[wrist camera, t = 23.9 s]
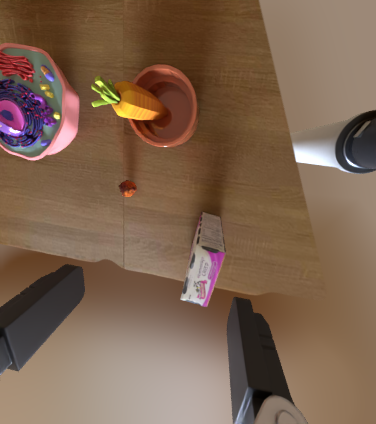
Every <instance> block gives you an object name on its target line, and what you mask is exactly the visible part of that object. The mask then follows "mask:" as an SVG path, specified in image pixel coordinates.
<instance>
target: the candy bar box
mask: <svg viewBox="0 0 376 424" xmlns="http://www.w3.org/2000/svg"><path fill="white" fill-rule="evenodd" d="M225 255H226V251H225V245H224V237H223V231H222V223H221V217H219V216H215V215H211V214H208V213H204V212H201V216H200V219H199V222H198V226H197V229H196V233H195V237H194V240H193V244H192V248H191V252H190V257H189V262H188V267H187V272H186V276H185V282H184V286H183V291H182V295H181V300H184V301H188V302H192V303H195V304H199V305H200V306H205V307H207V306H208V303H209V300H210V297H211V294H212V291H213V288H214V285H215V283H216V280H217V277H218V274H219V271H220V269H221V266H222V263H223V260H224V258H225Z"/></svg>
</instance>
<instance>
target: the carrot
mask: <svg viewBox="0 0 376 424" xmlns="http://www.w3.org/2000/svg"><path fill="white" fill-rule="evenodd" d="M95 82H96V83H97V84H98V85H99V86H100V87H101V88H102V89H103V90H102V89H100V88H98V87H97V86H95V85H94V84H92V89H93V90H95V91H96V92H98V93H100V95H101V97H102V98H103V99H104V100H97V101H94V102H92V105H93V107H97V106H100V105H105V104H110V103H112V106H113V108H114V109H115V111H116V113H117V114H118V115H119V116H121V117H125V118H131V119H137V120H159V119H162V118H164V117H165V116H167V114H168V111H167V109H166V108H165V106H164V105H163V104H162V102H161V101H160V100H159V99H158V98H157V97H155V96H154V95H153V94H151V93H150V92H148V91H147V90H145V89H143V88H141V87H139V86H137V85H135V84H133V83H131V82H128V81H122V82H117V83H116V84H115V86H114V85H113V83H112V81H111V79H109V80H108V84H109V85H108V84H107V83H106V82H105V81H104V80H103V79H102V78H101V77H100V76H96V77H95Z"/></svg>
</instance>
